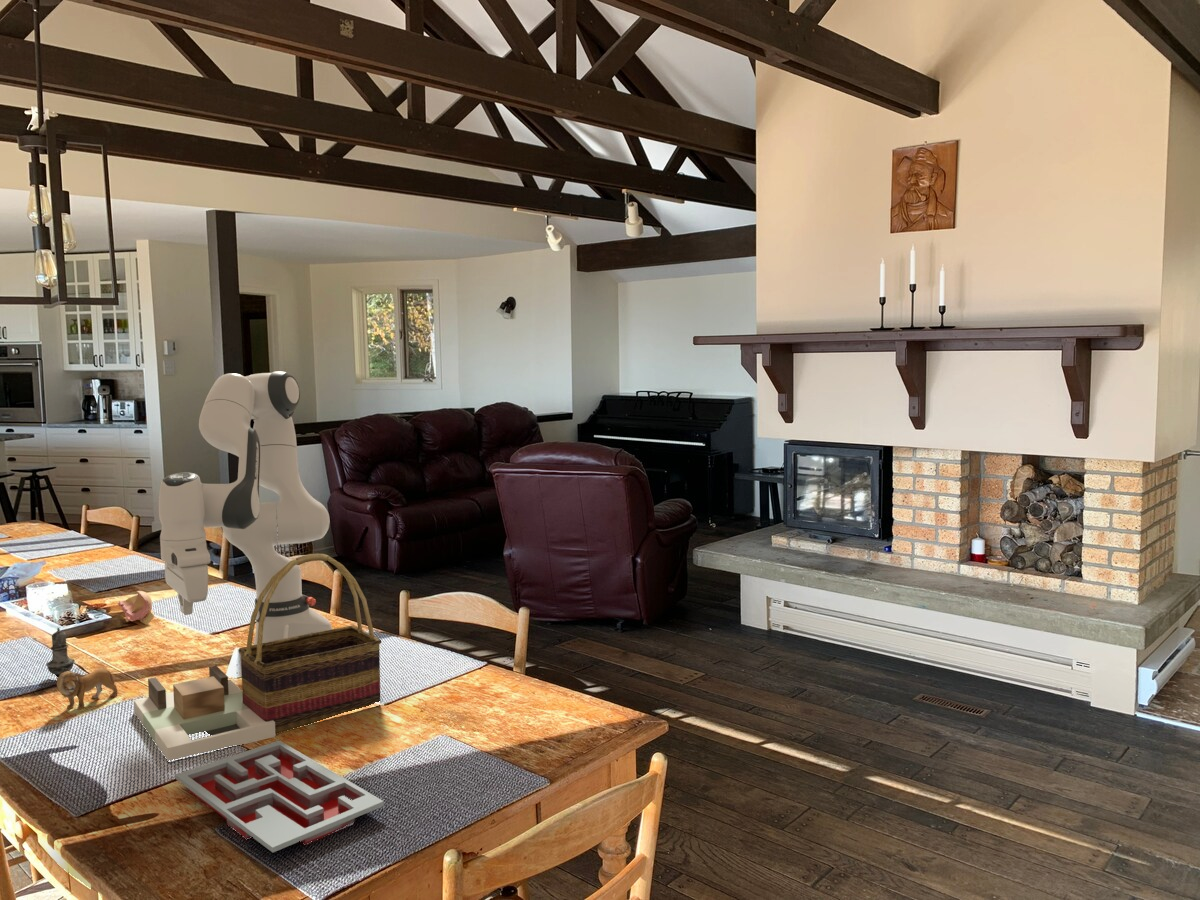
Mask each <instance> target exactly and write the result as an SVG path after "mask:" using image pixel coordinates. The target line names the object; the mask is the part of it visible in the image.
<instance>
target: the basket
mask: <svg viewBox="0 0 1200 900" xmlns="http://www.w3.org/2000/svg"><path fill="white" fill-rule="evenodd" d="M316 561H319V562H322V561H323V562H328V563H331V565H332V566H334V567H336V568H337V570H338V571H339V572H340V573H341V575H342V576H343V577H344V579H346V582H347V585H348V588H349V589H350V592H351V594H352V596H353V602H354V603H353V604H354V608H355V609H354V610H355V617H356V625H357V626H355V625H347V626H342V627H336V628H332V629H330V630H325V631H320V632H315V633H310V634H305V635H300V636H296V637H291V638H286V639H281V640H276V641H271V642H266V643H262V639H263V626H264V620H265V616H266V612H267V608H268V605H269V601H270V599H271V597H272V595H273V593H274V591H275V589H276V587H277V586H278V584H279V582H280V581H281V580H282V578H283V577H284V576H285V575H286V574H287V573H288V572H289V571H290V570H291V569H292V568H293V566H294V565H299V566H300V565H302V564H306V563H310V562H316ZM271 586H272V587H271ZM270 588H271V589H270ZM269 589H270V591H269ZM268 591H269V593H268V595H267V597H266V599H265V601H264V605H263V609H262V612H261V616H260V620H259V627H258V640H257V645H254V644H253V640H254V634H255V632H254V631H255V627H256V616H257V614H258V611H259V608H260V606H261V603H262V600H263V598H264V596H265V595H266V594H267V592H268ZM359 598H360V600H361V602H362V606H363V611H364V616H365V620H366V625H367V629H368V632H367V631H365V630H363V626H362V616H361V611H360V610H361V608H360V604H359V603H360V602H359ZM373 627H374V626H373V623H372V619H371V615H370V610H369V606H368V603H367V598H366V596H365V595H364V593H363V591H362V589H361V587H360V585H359V583H358V582H357V580H356V578H355V577H354V576H353V575H352V574H351V572H350V571H349V570H348V569H347V568H346V567H345V566H344V565H343V564H342V563H341V562H339V561H337V560H336V559H335V558H333V557H331V556H330V555H328V554H326V553H308V554H304V555H301V556H298V557H296V558H295V559H292V561H290V562H289V563H288V564H287V565H285V566H284V567H283V568H282V569H281V570H280V571H279V572H277V573H276V574H275V575H274V576H273V577H272V578H271V580H270V581H269V582H268V584H267V585H266V587H265V588H264V590H263V591H262V593H261V594H260V596H259V598H258V600H257V603H256V606H255V605H254V609H253V611H252V613H251V617H250V623H249V628H248V635H247V641H246V646H242V647H240V648H238V653H239V654H240V662H241V664H240V666H241V690H242V696H243V704H245V705H246V706H247V707H248V708H249V709H251V710H252V711H253V712H254V713H255V714H257V715H258V716H259V717H260V718H261V719H262V720H264V721H265V722H269V721H274V722H275V735H277V733H278V734H281V732H282V733H285V732H284V731H286V732H288V731H287V730H289V731H291V730H290V729H293V728H297V727H300V726H304V725H308V724H311V723H314V722H317V721H320V720H323V719H326V718H329V717H332V716H335V715H338V714H341V713H344V712H348V711H352V710H355V709H359V708H362V707H366V706H369V705H371V704H374V703H375V702H379V701H380V702H381V667H380V666H381V665H380V664H381V659H380V658H381V655H380V645H381V643H382V640H381V639H380V638H378V637H376V636H375V634H374V629H373ZM308 726H309V725H308ZM304 727H305V726H304ZM297 729H298V728H297ZM293 730H294V729H293Z"/></svg>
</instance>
